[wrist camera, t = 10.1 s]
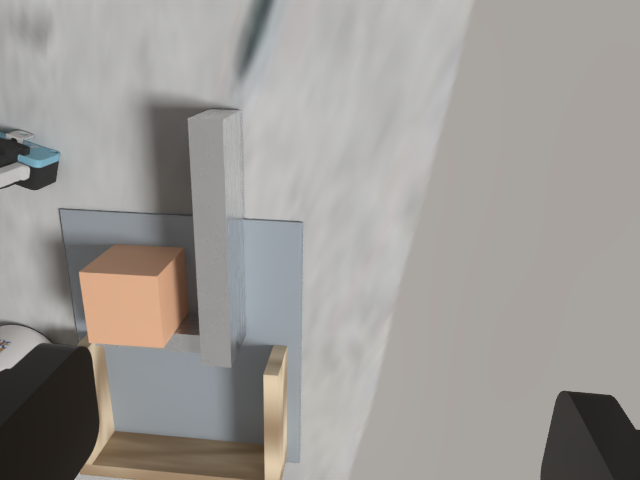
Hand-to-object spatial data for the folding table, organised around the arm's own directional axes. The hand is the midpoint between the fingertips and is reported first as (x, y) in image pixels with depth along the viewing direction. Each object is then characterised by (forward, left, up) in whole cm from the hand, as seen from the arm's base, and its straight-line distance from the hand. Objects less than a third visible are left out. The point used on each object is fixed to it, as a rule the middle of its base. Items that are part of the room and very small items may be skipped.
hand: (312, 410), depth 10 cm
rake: (+6, -13, -27) cm, 31 cm away
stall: (+20, -12, -27) cm, 36 cm away
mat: (+16, -12, -27) cm, 34 cm away
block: (+11, -14, -27) cm, 32 cm away
